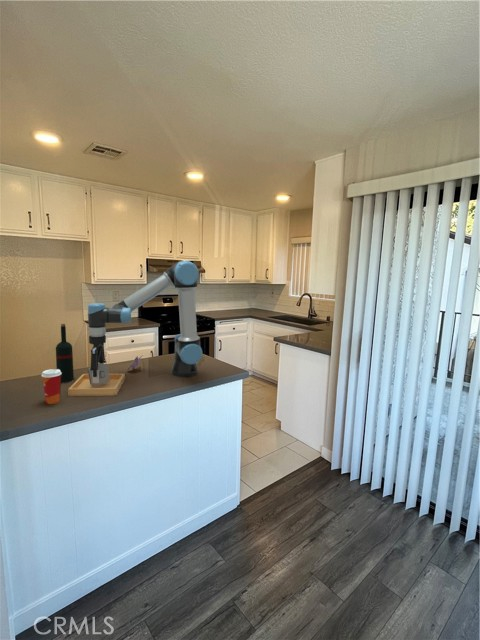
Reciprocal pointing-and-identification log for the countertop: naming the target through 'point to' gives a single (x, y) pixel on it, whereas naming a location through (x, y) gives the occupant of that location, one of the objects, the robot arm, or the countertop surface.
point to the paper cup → (52, 385)
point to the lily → (135, 363)
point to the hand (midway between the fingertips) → (98, 379)
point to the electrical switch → (100, 375)
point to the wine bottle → (64, 357)
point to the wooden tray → (106, 389)
